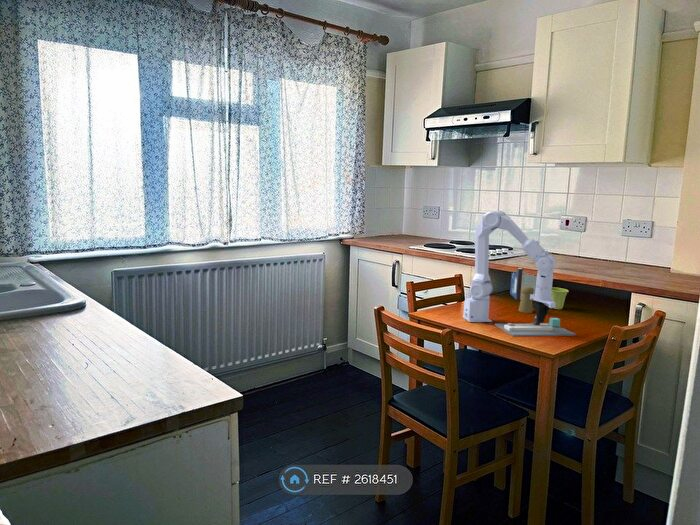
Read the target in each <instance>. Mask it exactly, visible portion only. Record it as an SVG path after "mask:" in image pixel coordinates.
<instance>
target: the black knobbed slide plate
mask: <svg viewBox="0 0 700 525" xmlns="http://www.w3.org/2000/svg"><path fill="white" fill-rule="evenodd" d="M533 323H534V324H513V323H512V324H513V326H549V325H548V324H540V323H538V322H537V317H536V314H535V315H534V319H533Z"/></svg>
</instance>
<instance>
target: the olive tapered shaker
mask: <svg viewBox="0 0 700 525" xmlns="http://www.w3.org/2000/svg"><path fill="white" fill-rule="evenodd" d="M521 292H522V297H521V300H519V301H520V302H519V307H518V312H521V313H526V314H531V313H532V314H533V311H534V310H533V308H534V306H533V301H532V300H531V299H530V294H533V292H534V289H533V288H532V287H529V286H524V287H522V289H521Z"/></svg>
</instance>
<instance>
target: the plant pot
mask: <svg viewBox="0 0 700 525" xmlns="http://www.w3.org/2000/svg"><path fill="white" fill-rule="evenodd" d="M568 293H569V290H568V289H566V288H561V287H553V286H552V292H551V298H552V299H553V302H555V303H556V305H555V308H553V309H554V310H562V309H564V308H563V307H564V304H565V300H566V296H567V294H568Z"/></svg>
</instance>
